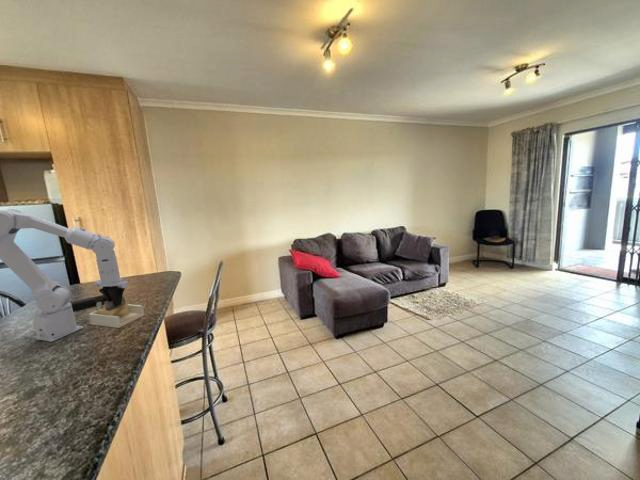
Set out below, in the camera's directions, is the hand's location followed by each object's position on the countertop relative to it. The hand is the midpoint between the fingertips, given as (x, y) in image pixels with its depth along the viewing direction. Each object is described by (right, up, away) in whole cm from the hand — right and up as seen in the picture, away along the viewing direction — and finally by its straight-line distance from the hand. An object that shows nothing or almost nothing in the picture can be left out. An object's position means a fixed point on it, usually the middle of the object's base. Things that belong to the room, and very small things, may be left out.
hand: (115, 305), depth 100 cm
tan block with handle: (-2, -5, +1) cm, 5 cm away
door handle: (-22, -5, +15) cm, 27 cm away
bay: (0, -6, +1) cm, 6 cm away
